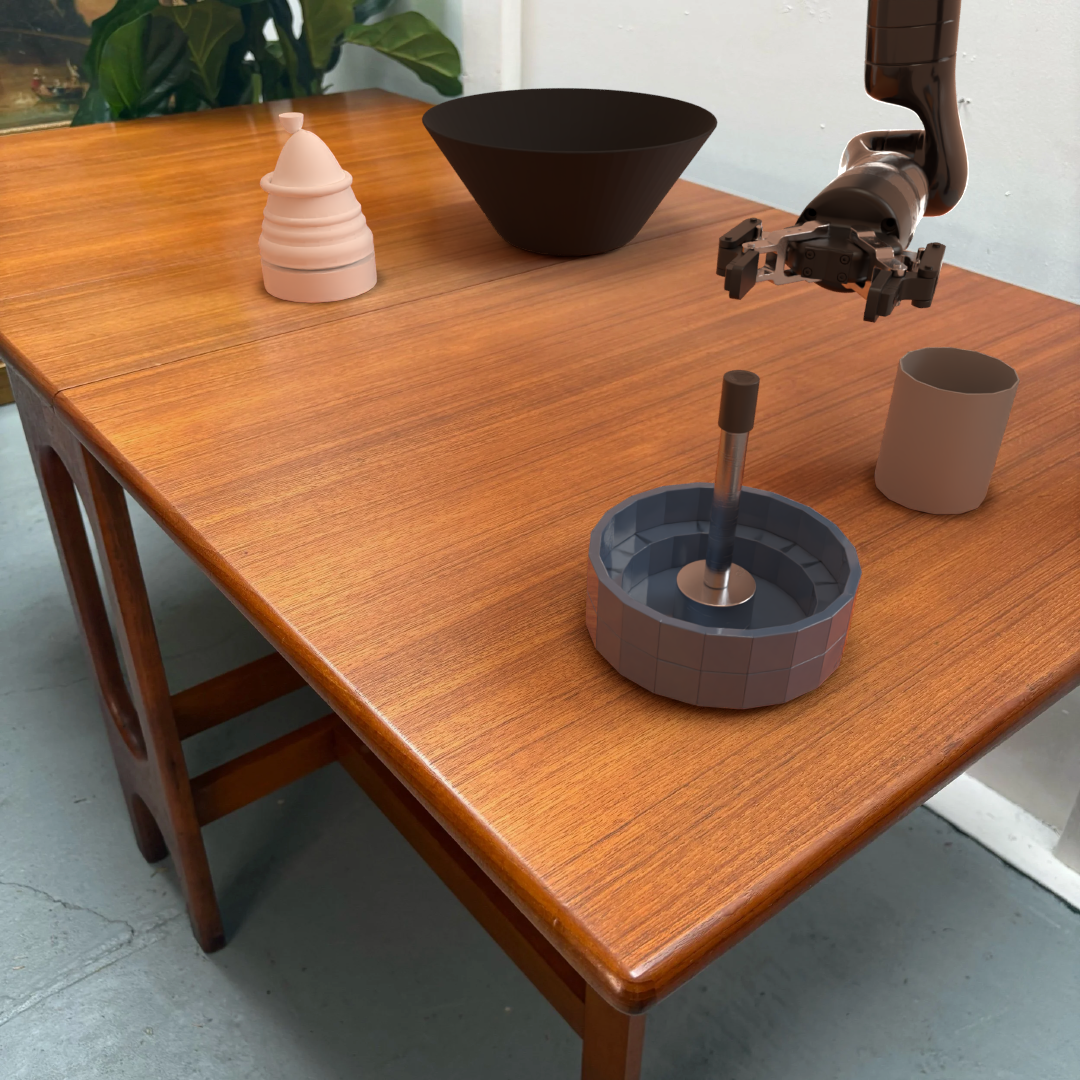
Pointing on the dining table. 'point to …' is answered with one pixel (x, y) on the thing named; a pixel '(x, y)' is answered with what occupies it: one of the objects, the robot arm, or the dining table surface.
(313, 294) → the honey pot
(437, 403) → the dining table surface
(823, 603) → the bowl
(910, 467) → the cup
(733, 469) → the metal rod on disc
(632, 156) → the bowl
